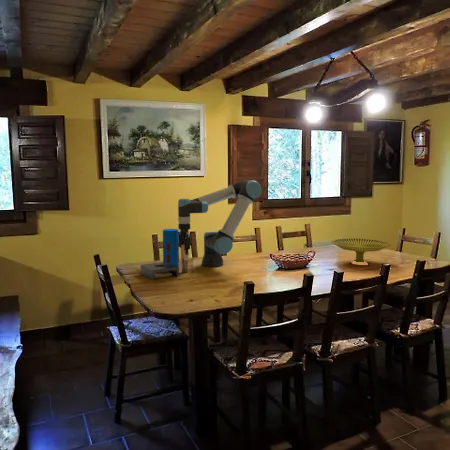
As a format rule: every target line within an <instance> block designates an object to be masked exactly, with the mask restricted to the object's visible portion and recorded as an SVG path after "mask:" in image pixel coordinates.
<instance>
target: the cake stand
mask: <svg viewBox="0 0 450 450" xmlns="http://www.w3.org/2000/svg"><path fill="white" fill-rule="evenodd" d="M330 243H331V244H333V245H334V246H337V247H338V248H339V249H340V248H341V249H343V250H346V251H351V252H352V251H353V252H355V259H354V261H356V262H364V261H365V260H364V255H365V254H364V253H366V252H367V253H368V252H370V253H371V252H378V251H382V250H383V249H386V248H388V247H390V246H391V243H389V242H387V241H383V240H377V239H370V238H369V239H368V238H354V237H353V238H351V237H350V238H337V239H333V240H331V241H330Z"/></svg>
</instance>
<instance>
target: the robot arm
mask: <svg viewBox="0 0 450 450" xmlns="http://www.w3.org/2000/svg"><path fill="white" fill-rule="evenodd" d="M262 193H263V192H262V186H261V184H260V183H259V182H258V181H256V180H254V179H251V180H249V179H247V180H246V179H244V180H239V181H237V182H234V183H232V184H229V185H228V186H227V187H224V188H222V189H219V190H216V191H214V192H210V193H208V194H205V195H204V194H203V195H202V196H199V197H196V198H192V199H190V198H179V199H178V202H177V205H178V206H177V211H178V212H177V214H178V215H177V216H178V217H177V221H178V226H177V227H178V230H179V232H178V236H179V249H181V245H182V244H184V246H185V249H184V260H188V261H189V250H191V237H192V234H191V233H189V230H190V229H191V214H206V213H207V212H208V211H209V206H211V205H215V204H217V203H221V202H222V201H226V200H229V199H231V198H232V199H236V198H237V200H236V202H235V203H234V206H233V208H232V209H231V211H230V213H229V215H228V217H227V218H226V221H225V222H224V225H223V226H222V228H221V229H219V230H218V231H209V232H208V231H206V232H204V235H203V257H202V259H201V266H204V267H211V268H213V267H215V268H217V267H221V266H224V259H223V256H222V255H225V254H228V253H230V251H231V250H233V249H232V248H233V246H234V245H233V241H234V239H235V237H234V235H235V233H236V231H237V229H238V226H239V225H240V224H241V222H242V220H243V217H244V215H245V213H246V212H247V210H248V209H249V206H250V205H252V204H254V201H255V199H257V198H260V196H261V194H262Z"/></svg>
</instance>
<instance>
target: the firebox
mask: <svg viewBox="0 0 450 450" xmlns="http://www.w3.org/2000/svg"><path fill="white" fill-rule="evenodd" d="M140 275H142V276H144V277H146V278H147V279H150V281H155V280H156V279H158V278H159V279H160V278H169V277H172V276H175V277H180V266H176V265H173V264H171V263H169V262H163V261H161V262H154V263H153V262H152V263H145V264H140Z"/></svg>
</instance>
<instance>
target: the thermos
mask: <svg viewBox="0 0 450 450" xmlns="http://www.w3.org/2000/svg"><path fill="white" fill-rule="evenodd" d="M178 232H180V230H179V229H177V228H164V229H162V259H163V260H162V262H169V263H171V264H173V265H176V266H178V267H180V263H179V262H180V247H179V236H178Z"/></svg>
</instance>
